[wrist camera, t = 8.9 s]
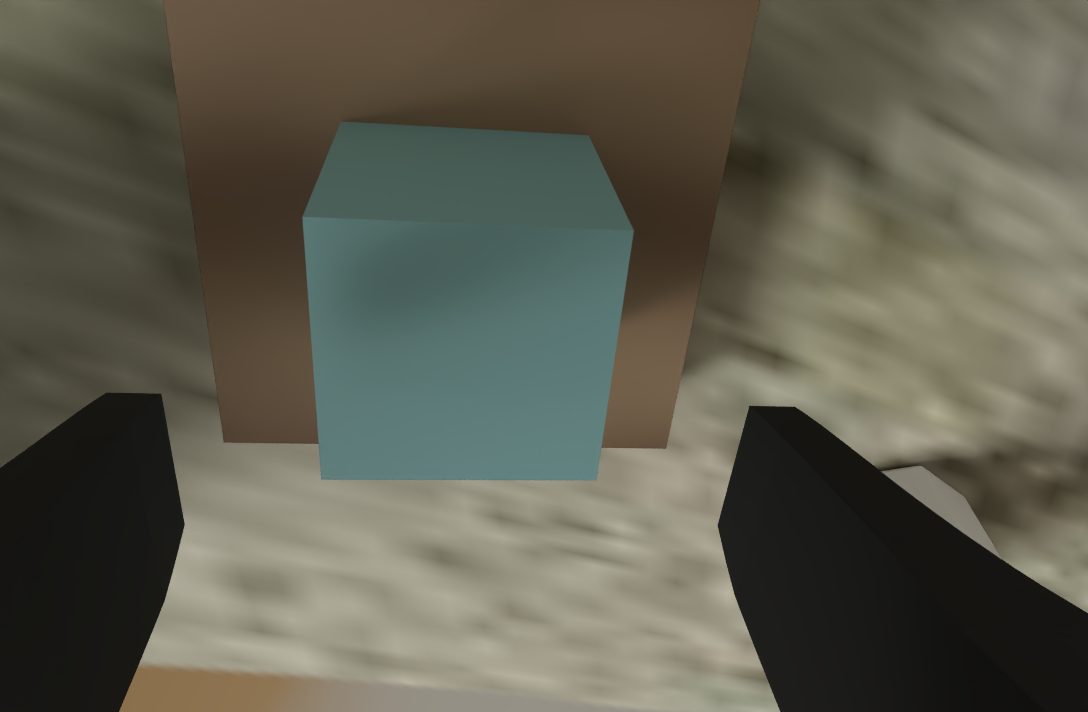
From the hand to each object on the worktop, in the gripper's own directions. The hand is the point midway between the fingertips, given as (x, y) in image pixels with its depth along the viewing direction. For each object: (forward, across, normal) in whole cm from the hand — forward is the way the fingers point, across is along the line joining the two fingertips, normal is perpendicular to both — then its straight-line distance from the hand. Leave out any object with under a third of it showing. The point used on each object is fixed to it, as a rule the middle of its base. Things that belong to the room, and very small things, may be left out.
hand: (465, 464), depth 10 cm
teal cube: (+7, 0, 0) cm, 7 cm away
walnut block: (+9, 0, 0) cm, 9 cm away
